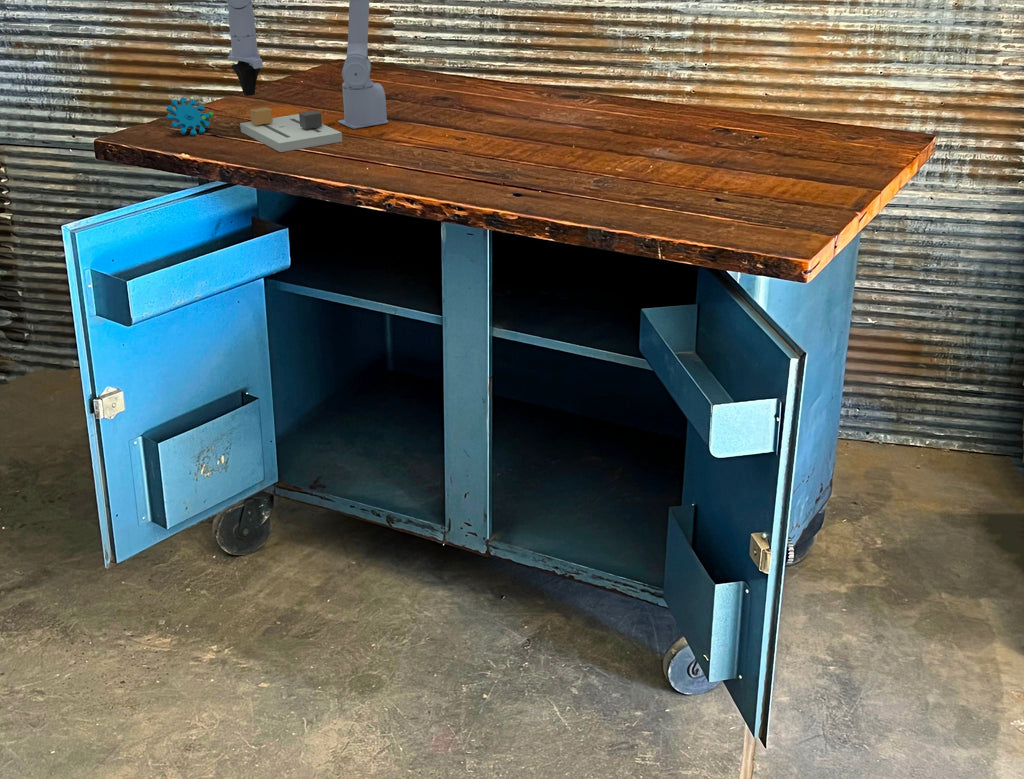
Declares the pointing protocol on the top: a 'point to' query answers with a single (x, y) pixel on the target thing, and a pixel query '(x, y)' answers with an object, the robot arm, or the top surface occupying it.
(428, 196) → the top surface
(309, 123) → the black fader
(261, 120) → the tan fader
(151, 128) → the top surface
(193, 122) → the gear
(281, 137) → the fader panel
